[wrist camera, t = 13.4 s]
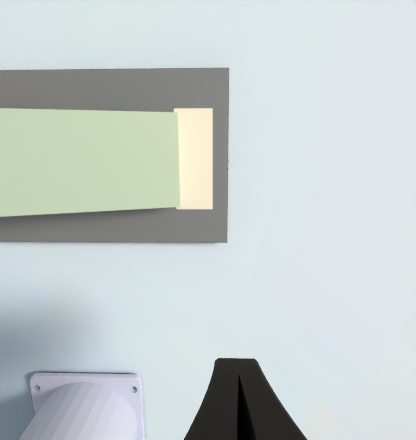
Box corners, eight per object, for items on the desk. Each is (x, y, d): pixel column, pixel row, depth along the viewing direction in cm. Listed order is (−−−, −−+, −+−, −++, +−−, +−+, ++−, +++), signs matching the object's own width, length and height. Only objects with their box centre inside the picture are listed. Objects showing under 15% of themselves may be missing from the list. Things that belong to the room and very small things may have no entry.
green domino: (177, 112, 16) (-48, 106, 14) (180, 206, 17) (-28, 218, 15) (172, 115, 18) (-32, 111, 15) (175, 202, 19) (-14, 211, 16)
